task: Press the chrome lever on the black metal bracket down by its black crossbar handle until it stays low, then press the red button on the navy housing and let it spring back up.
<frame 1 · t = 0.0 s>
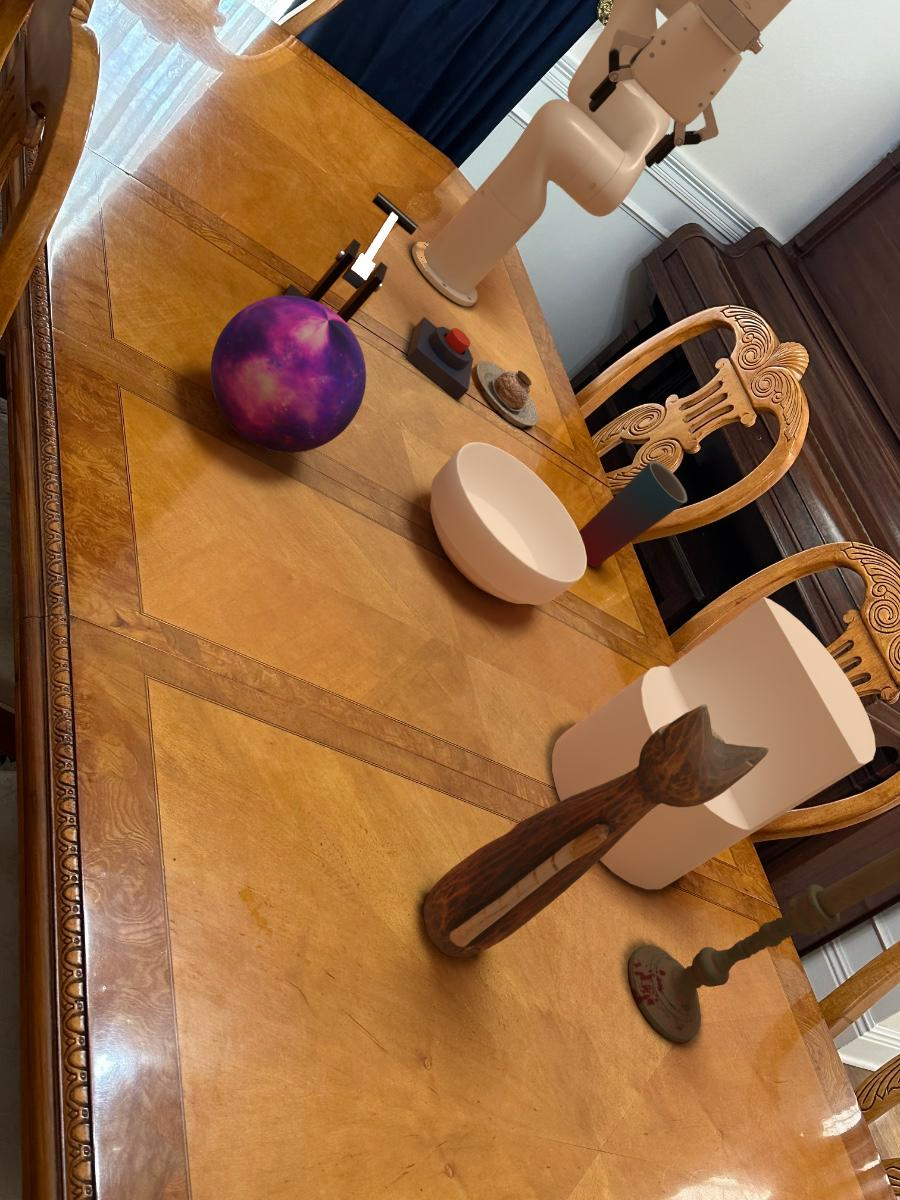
hand: (619, 136, 143), 37 cm above the table, tool pointing down, fingers open, 9 cm apart
sculpture: (450, 922, 94), on the table
button box: (435, 363, 159), on the table
decorative orb: (244, 426, 117), on the table
bowl: (472, 556, 133), on the table
candlestick holder: (660, 995, 107), on the table
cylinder: (615, 807, 122), on the table
cup: (583, 553, 155), on the table
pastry: (502, 398, 167), on the table
bracket: (307, 331, 139), on the table
lever: (376, 243, 136), point 12 cm above the table, hinge at 30.0°
button: (457, 340, 156), point 5 cm above the table, slide at 0.2 cm
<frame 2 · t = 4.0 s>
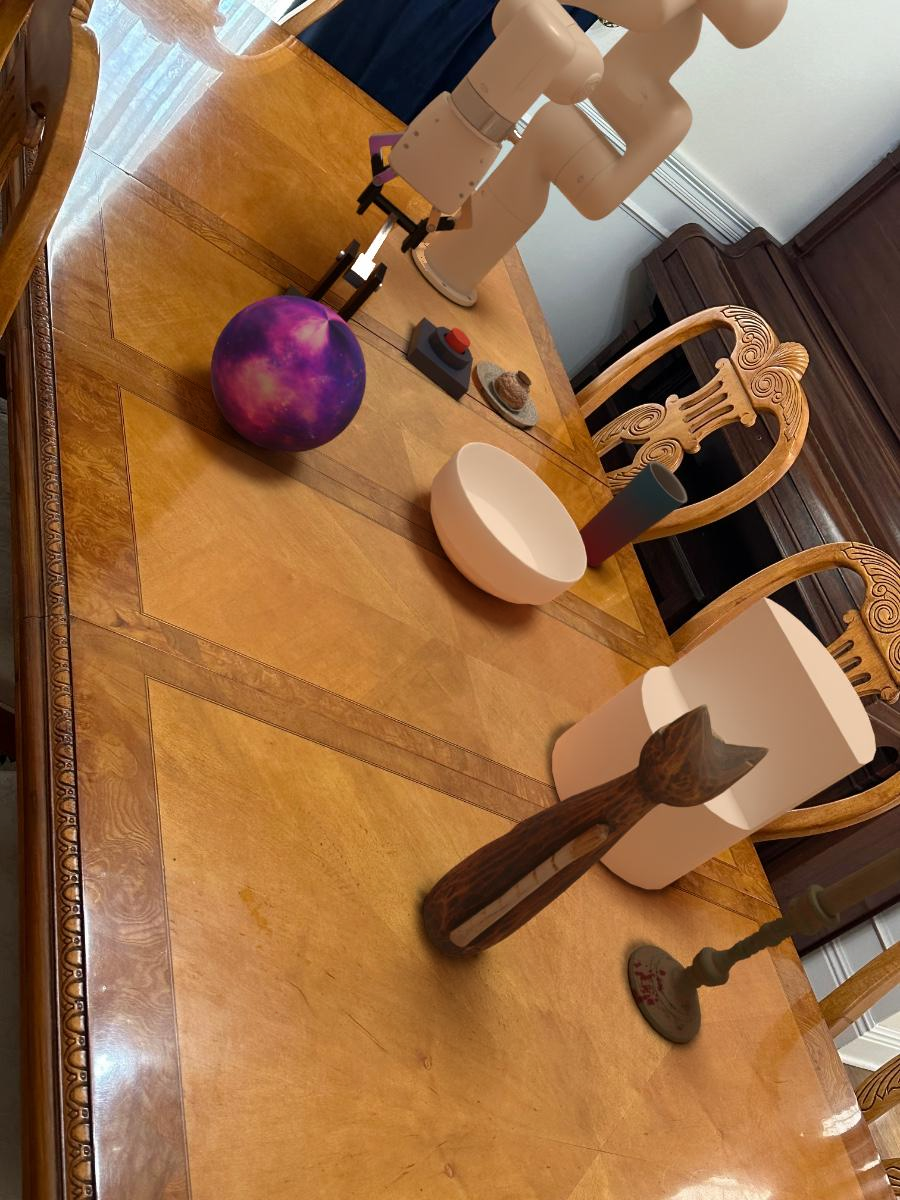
hand: (382, 228, 139), 13 cm above the table, tool pointing down, fingers closed on lever, 6 cm apart
lever: (376, 243, 136), point 12 cm above the table, hinge at 30.0°, touching gripper
everything else where it was.
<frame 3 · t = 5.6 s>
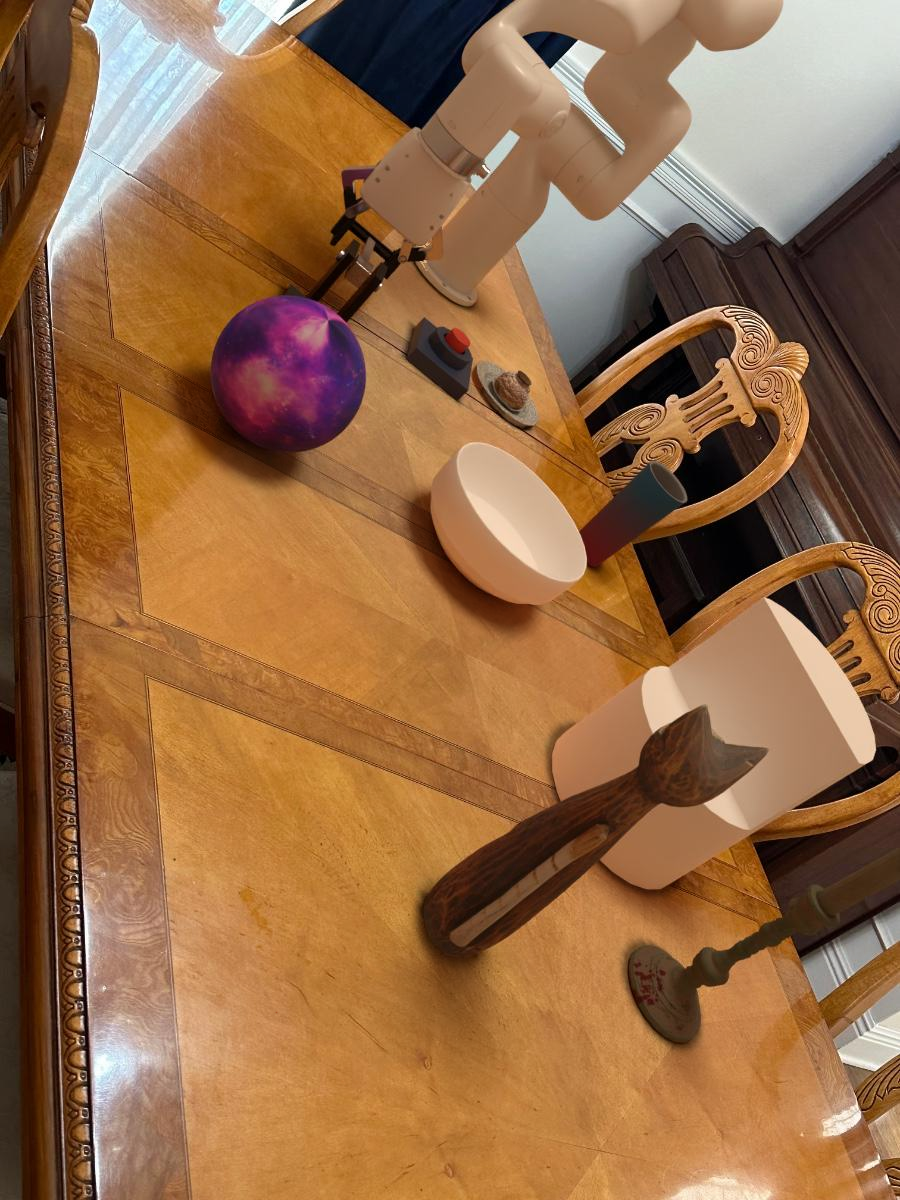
hand: (355, 258, 143), 7 cm above the table, tool pointing down, fingers closed on lever, 6 cm apart
lever: (364, 256, 138), point 10 cm above the table, hinge at -0.2°, touching gripper
everything else where it was.
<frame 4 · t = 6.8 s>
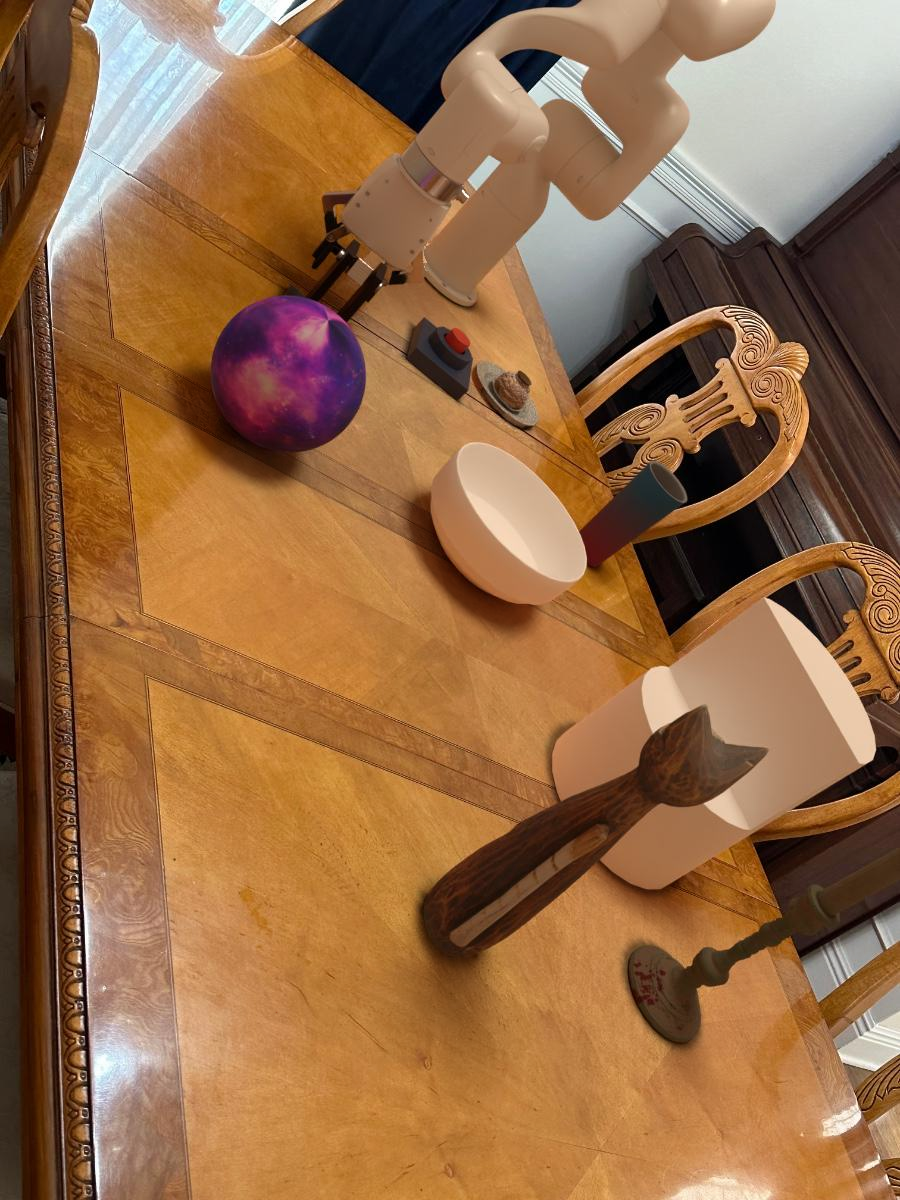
hand: (337, 281, 144), 4 cm above the table, tool pointing down, fingers closed on lever, 6 cm apart
lever: (356, 266, 138), point 8 cm above the table, hinge at -20.0°, touching gripper
everything else where it was.
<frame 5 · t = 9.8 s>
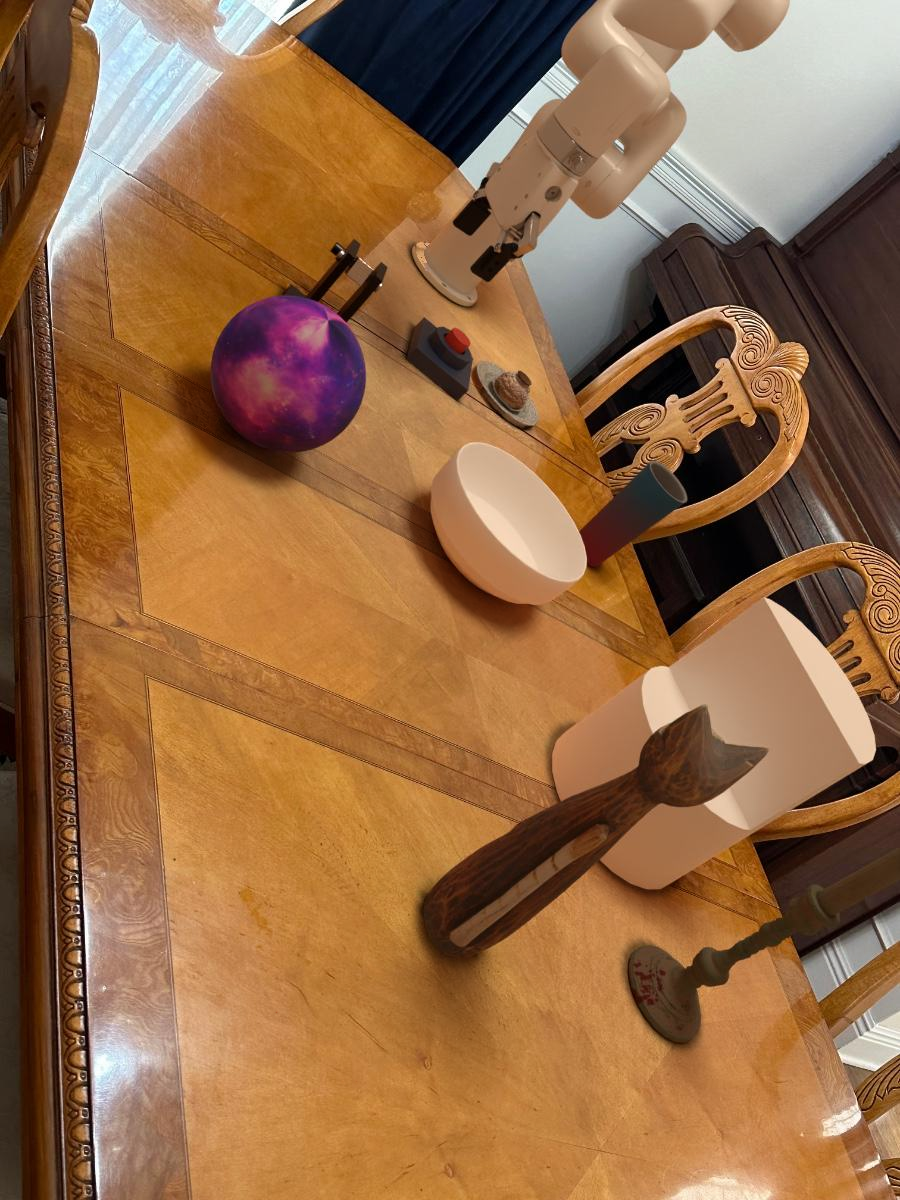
hand: (469, 252, 146), 16 cm above the table, tool pointing down, fingers open, 9 cm apart
lever: (356, 266, 138), point 8 cm above the table, hinge at -20.1°
everything else where it was.
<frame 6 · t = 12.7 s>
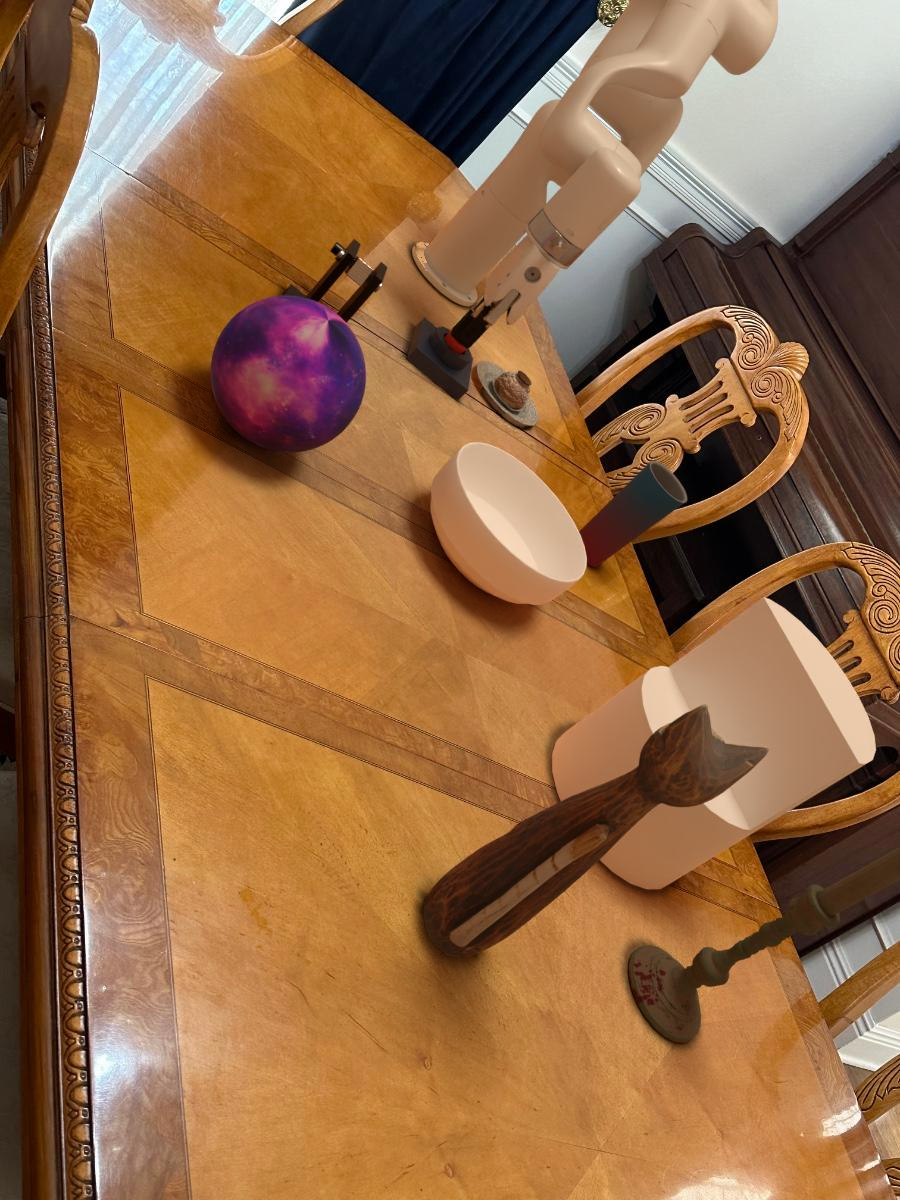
hand: (459, 339, 156), 5 cm above the table, tool pointing down, fingers closed
button: (455, 343, 156), point 4 cm above the table, slide at -0.3 cm, touching gripper
everything else where it was.
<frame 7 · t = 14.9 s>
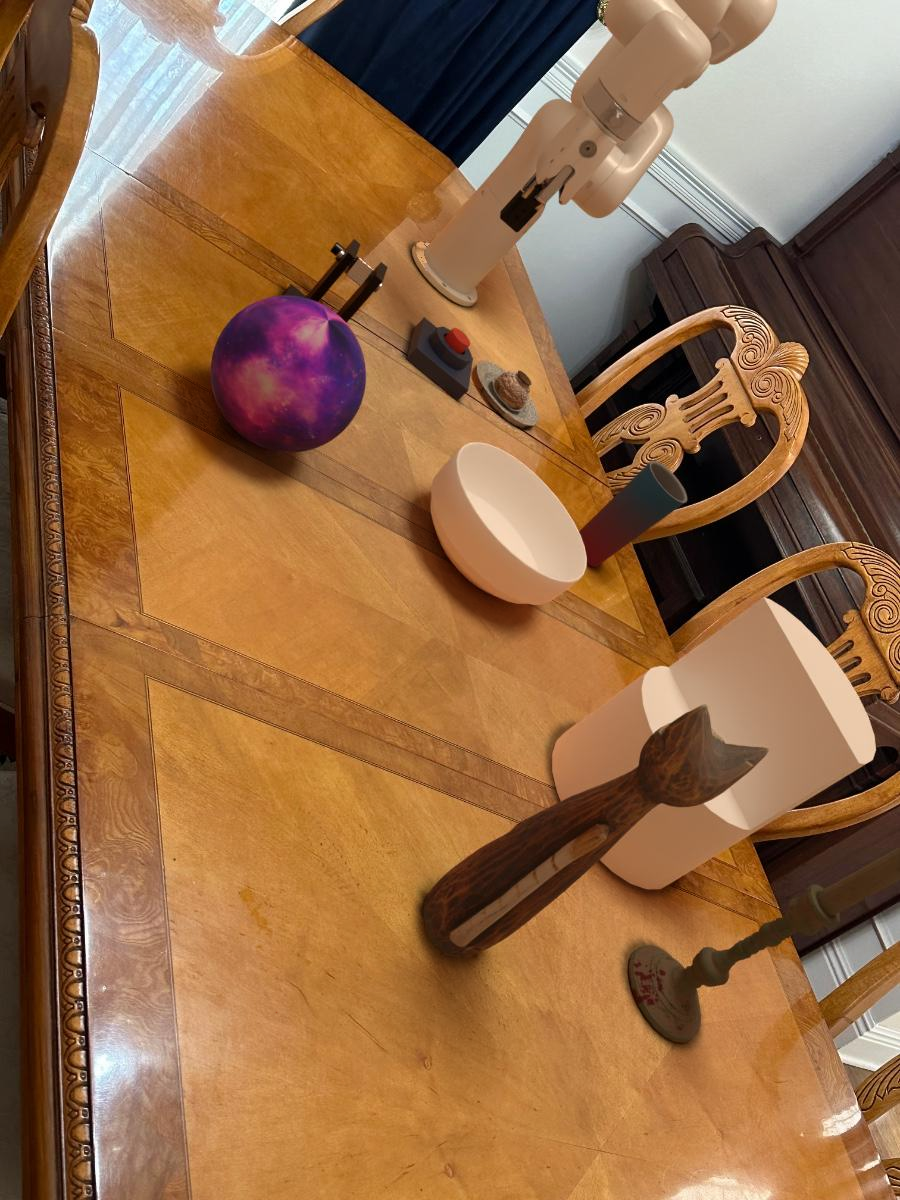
hand: (508, 222, 150), 20 cm above the table, tool pointing down, fingers closed
button: (457, 341, 156), point 5 cm above the table, slide at 0.1 cm
everything else where it was.
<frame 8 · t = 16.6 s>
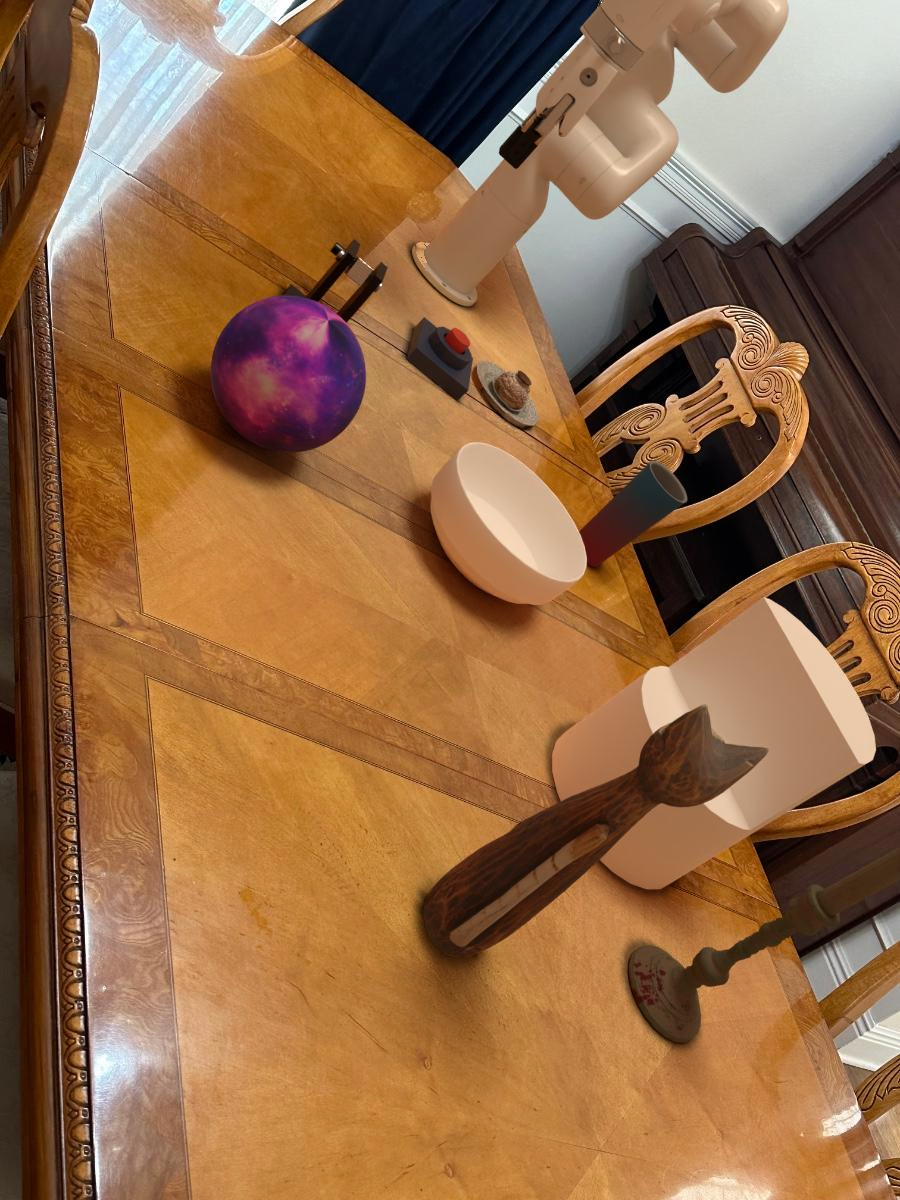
hand: (507, 159, 147), 25 cm above the table, tool pointing down, fingers closed
nothing on the table moved.
at the end: lever at -20° (first picture: +30°); button pushed in 1.1 cm at the most during the clip, back to where it started at the end; button slide at 0.1 cm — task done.
